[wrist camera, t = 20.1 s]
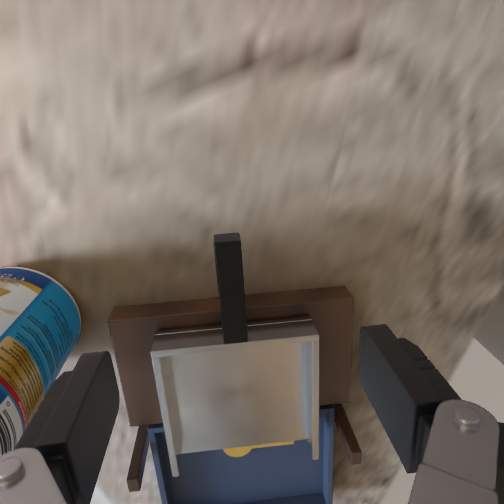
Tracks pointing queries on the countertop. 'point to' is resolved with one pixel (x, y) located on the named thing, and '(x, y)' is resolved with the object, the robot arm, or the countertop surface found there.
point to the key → (245, 450)
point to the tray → (249, 471)
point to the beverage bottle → (31, 344)
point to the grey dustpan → (237, 374)
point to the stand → (208, 314)
